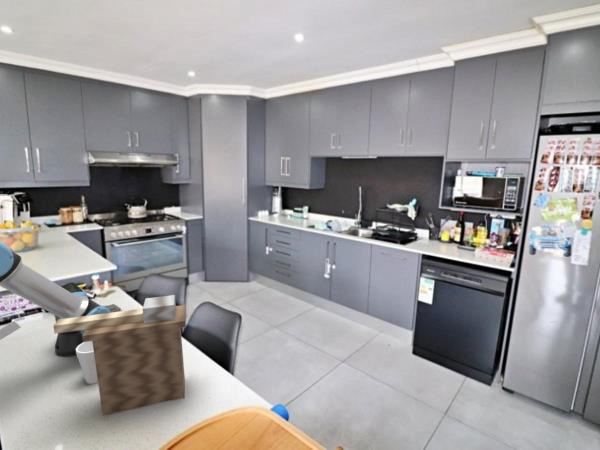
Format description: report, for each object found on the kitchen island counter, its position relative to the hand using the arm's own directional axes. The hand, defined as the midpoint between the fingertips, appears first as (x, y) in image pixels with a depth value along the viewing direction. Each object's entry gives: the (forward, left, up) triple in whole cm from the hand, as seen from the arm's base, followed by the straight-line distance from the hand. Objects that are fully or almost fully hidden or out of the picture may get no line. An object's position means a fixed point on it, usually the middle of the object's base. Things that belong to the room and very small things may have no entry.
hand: (6, 334), depth 92 cm
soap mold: (-71, -9, -30) cm, 77 cm away
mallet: (-6, +27, -1) cm, 28 cm away
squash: (-81, -27, -30) cm, 91 cm away
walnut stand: (-7, +33, -29) cm, 45 cm away
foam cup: (-19, +12, -30) cm, 37 cm away
